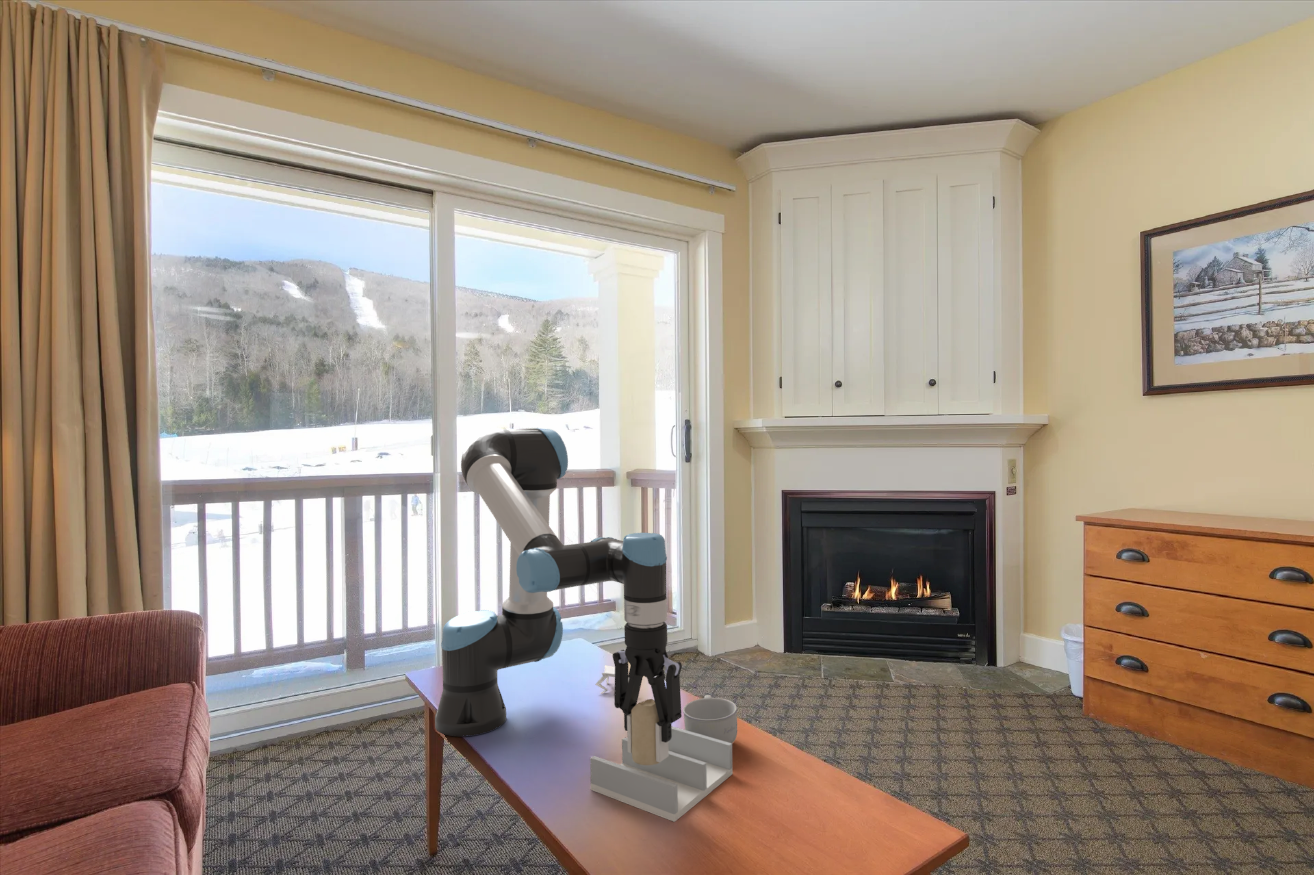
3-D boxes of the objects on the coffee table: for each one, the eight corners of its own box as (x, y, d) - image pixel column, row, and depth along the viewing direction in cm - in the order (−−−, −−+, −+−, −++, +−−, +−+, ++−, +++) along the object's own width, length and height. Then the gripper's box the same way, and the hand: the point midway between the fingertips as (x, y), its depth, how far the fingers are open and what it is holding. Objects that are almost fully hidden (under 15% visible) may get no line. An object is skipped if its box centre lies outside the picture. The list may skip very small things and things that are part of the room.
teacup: (735, 761, 134) (734, 719, 134) (679, 756, 136) (678, 715, 136) (741, 730, 148) (740, 692, 148) (690, 726, 150) (689, 689, 150)
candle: (646, 748, 126) (645, 693, 126) (669, 757, 123) (669, 700, 123) (625, 759, 122) (624, 702, 122) (649, 769, 119) (648, 710, 119)
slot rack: (590, 789, 124) (590, 758, 124) (653, 749, 139) (653, 720, 139) (674, 822, 113) (673, 787, 113) (732, 774, 129) (732, 743, 129)
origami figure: (586, 692, 171) (586, 671, 171) (608, 681, 177) (608, 662, 177) (624, 702, 164) (623, 682, 164) (645, 692, 170) (645, 671, 170)
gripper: (591, 619, 125) (593, 749, 125) (677, 636, 114) (679, 777, 114) (618, 610, 131) (620, 733, 131) (701, 625, 120) (704, 759, 120)
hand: (647, 753), depth 122 cm, fingers closed on candle, 5 cm apart
